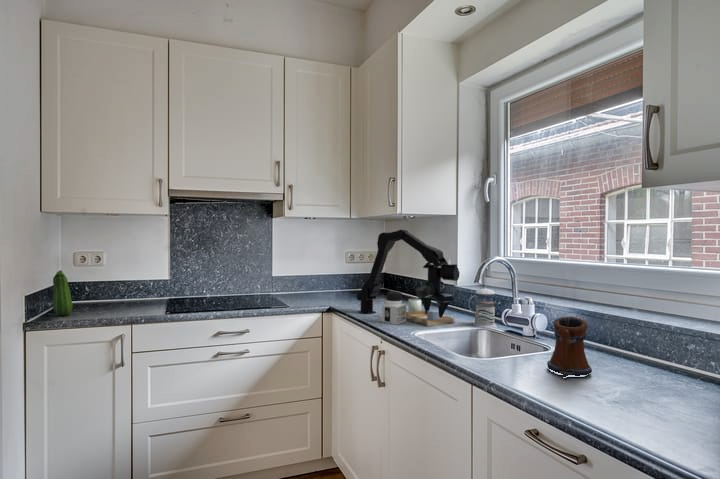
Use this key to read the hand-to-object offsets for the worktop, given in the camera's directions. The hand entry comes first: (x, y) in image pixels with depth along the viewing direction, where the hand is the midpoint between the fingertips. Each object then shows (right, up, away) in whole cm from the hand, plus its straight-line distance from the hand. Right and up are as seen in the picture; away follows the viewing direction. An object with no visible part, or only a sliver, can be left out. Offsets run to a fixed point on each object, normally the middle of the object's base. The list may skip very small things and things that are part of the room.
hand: (433, 315), depth 191 cm
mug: (+26, -5, -68) cm, 73 cm away
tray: (-2, -3, +4) cm, 6 cm away
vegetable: (-162, -1, +5) cm, 162 cm away
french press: (+20, -4, -4) cm, 20 cm away
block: (0, -2, 0) cm, 2 cm away
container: (-17, -3, 0) cm, 17 cm away
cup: (-6, -3, +17) cm, 19 cm away
